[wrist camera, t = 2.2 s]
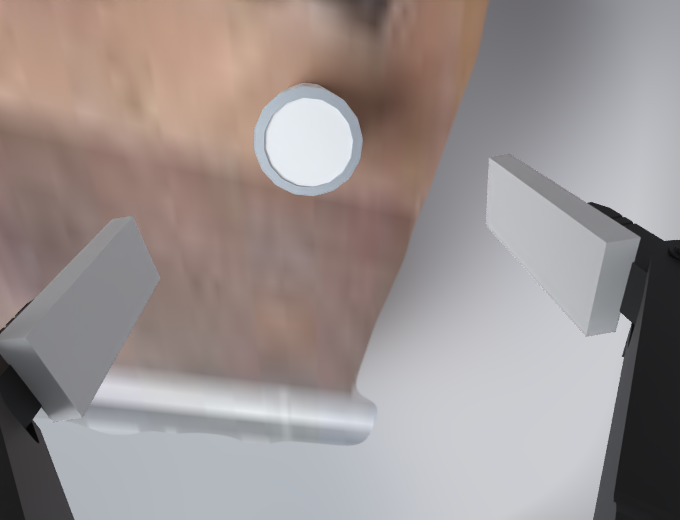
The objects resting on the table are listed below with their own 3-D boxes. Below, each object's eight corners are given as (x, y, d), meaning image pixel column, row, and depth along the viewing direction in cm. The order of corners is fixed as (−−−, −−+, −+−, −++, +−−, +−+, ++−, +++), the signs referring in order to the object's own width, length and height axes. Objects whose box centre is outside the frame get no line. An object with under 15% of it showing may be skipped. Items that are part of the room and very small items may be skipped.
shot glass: (255, 77, 30) (243, 92, 24) (348, 68, 30) (360, 80, 24) (270, 169, 33) (263, 201, 27) (354, 160, 33) (365, 191, 27)
